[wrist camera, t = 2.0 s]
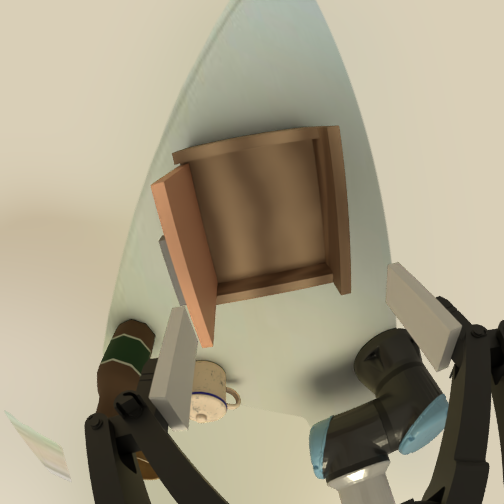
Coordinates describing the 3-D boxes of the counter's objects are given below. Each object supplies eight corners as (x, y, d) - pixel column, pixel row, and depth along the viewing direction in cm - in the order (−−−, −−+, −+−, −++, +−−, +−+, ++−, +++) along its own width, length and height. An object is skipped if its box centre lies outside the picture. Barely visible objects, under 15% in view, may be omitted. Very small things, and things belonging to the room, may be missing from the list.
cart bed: (303, 127, 37) (339, 125, 24) (318, 245, 44) (350, 292, 31) (184, 148, 37) (159, 157, 24) (212, 265, 44) (205, 321, 31)
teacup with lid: (177, 382, 54) (171, 426, 44) (187, 353, 51) (180, 401, 40) (232, 394, 57) (233, 439, 46) (247, 368, 54) (250, 415, 43)
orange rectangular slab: (188, 163, 30) (163, 181, 19) (217, 281, 36) (213, 346, 25) (173, 167, 30) (140, 187, 19) (203, 284, 36) (194, 349, 25)
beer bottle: (150, 317, 47) (113, 433, 25) (160, 350, 50) (135, 461, 29) (112, 318, 47) (62, 423, 25) (124, 349, 50) (88, 452, 28)
